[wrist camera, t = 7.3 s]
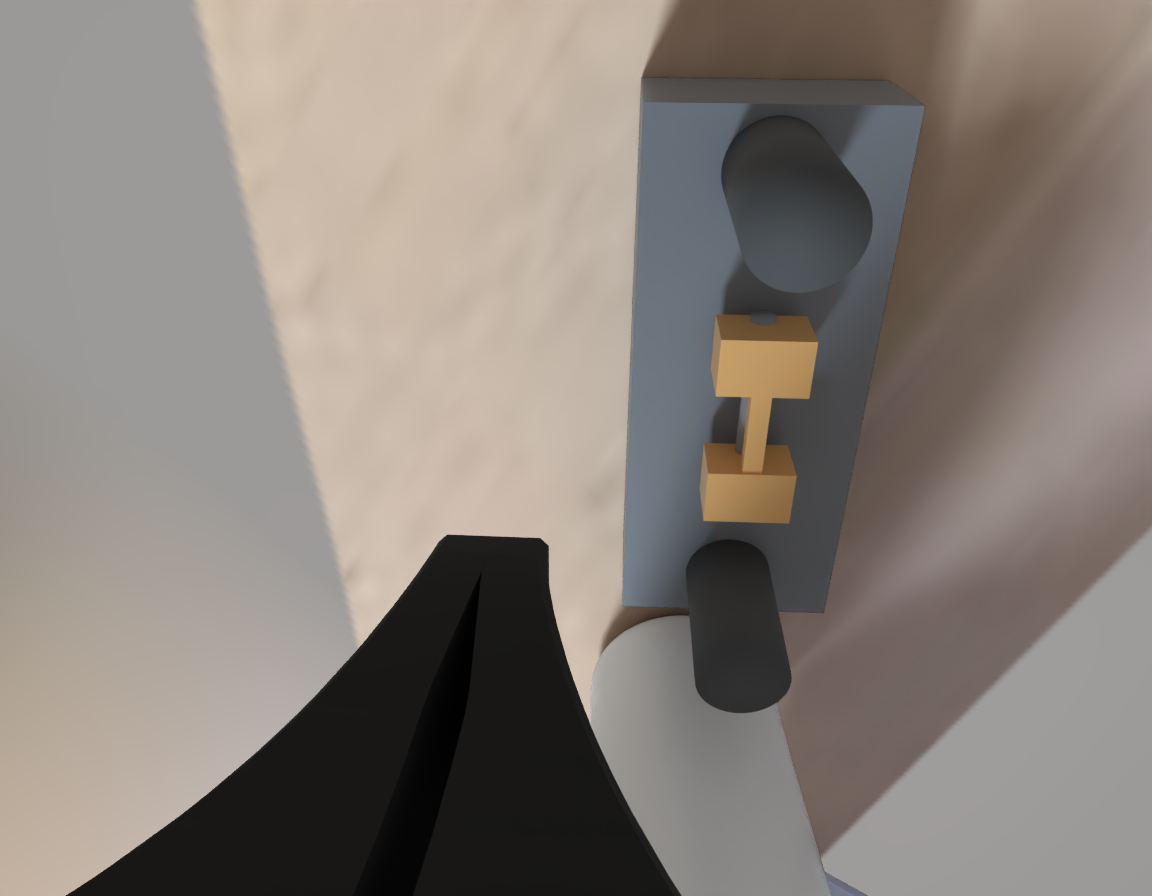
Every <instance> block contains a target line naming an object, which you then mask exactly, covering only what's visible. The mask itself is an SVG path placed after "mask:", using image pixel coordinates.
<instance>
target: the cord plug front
mask: <svg viewBox="0 0 1152 896" xmlns="http://www.w3.org/2000/svg"><path fill="white" fill-rule="evenodd" d="M721 182H722V187H723V191H724V195H725V198H726V202H727V205H728V209H729V212H730V215H731V219H732V222H733V226H734V229H735V233H736V236H737V239H738V243H739V246H740V250H741V253H742V256H743V259H744V261H745V262H746V264H747V266H748V268H749V269H750V270H751V272H752V273H753V274H754V275H755V276H756V277H757V278H758V279H759V280H761V281H762V282H763V283H765V284H767V285H768V286H770V287H773V288H775V289H778V290H781V291H785V292H792V293H804V292H812V291H816V290H820V289H823V288H825V287H828V286H830V285H832V284H834V283H836V282H837V281H839V280H840V279H842V278H843V277H844V276H846V275H847V274H848V273H849V272H850V271H851V270H852V269H853V268H854V267H855V266H856V265H857V263H858V262H859V261H860V260H861V258H862V256H863V255H864V253H865V251H866V249H867V247H868V244H869V241H870V238H871V234H872V228H873V216H872V209H871V205H870V202H869V199H868V197H867V195H866V193H865V191H864V190H863V188H862V187H861V185H860V184H859V183H858V182H857V180H856V179H855V178H854V176H853V175H852V174H851V173H850V171H849V170H848V169H847V168H846V166H845V165H844V164H843V162H842V161H841V160H840V159H839V157H838V156H837V155H836V153H835V152H834V151H833V150H832V148H831V147H830V146H829V144H828V143H827V142H826V141H825V139H824V138H823V137H822V135H821V134H820V133H819V132H818V131H817V130H816V129H815V128H814V127H813V126H812V125H810V124H809V123H807V122H806V121H804V120H801V119H799V118H796V117H792V116H785V115H777V116H770V117H766V118H763V119H760V120H758V121H756V122H754V123H752V124H750V125H749V126H747V127H746V128H745V129H743V130H742V131H741V132H740V133H739V134H738V135H737V136H736V137H735V139H734V140H733V141H732V143H731V144H730V146H729V147H728V150H727V152H726V154H725V157H724V159H723V163H722V169H721Z"/></svg>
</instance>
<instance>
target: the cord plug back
mask: <svg viewBox="0 0 1152 896" xmlns="http://www.w3.org/2000/svg"><path fill="white" fill-rule="evenodd" d="M686 582H687V594H688V606H689V618H690V630H691V642H692V654H693V666H694V678H695V686H696V689H697V692H698V694H699V695H700V697H701V698H702V699H703V700H704V701H705V702H706V703H708V704H709V705H711V706H713V707H714V708H717V709H719V710H722V711H726V712H731V713H751V712H757V711H760V710H763V709H766V708H768V707H770V706H772V705H774V704H775V703H777V702H778V701H779V700H781V699H782V698H783V697H784V695H785V694H786V693H787V691H788V689H789V687H790V684H791V671H790V666H789V661H788V656H787V652H786V647H785V642H784V637H783V632H782V627H781V623H780V618H779V613H778V608H777V603H776V598H775V593H774V589H773V584H772V579H771V574H770V569H769V565H768V561H767V559H766V557H765V556H764V554H763V553H762V552H761V551H760V550H759V549H758V548H757V547H755V546H753V545H752V544H749V543H747V542H744V541H740V540H732V539H729V540H719V541H715V542H712V543H709V544H707V545H705V546H703V547H701V548H700V549H699V550H697V551H696V552H695V553H694V554H693V555H692V557H691V558H690V560H689V562H688V564H687V568H686Z"/></svg>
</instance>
